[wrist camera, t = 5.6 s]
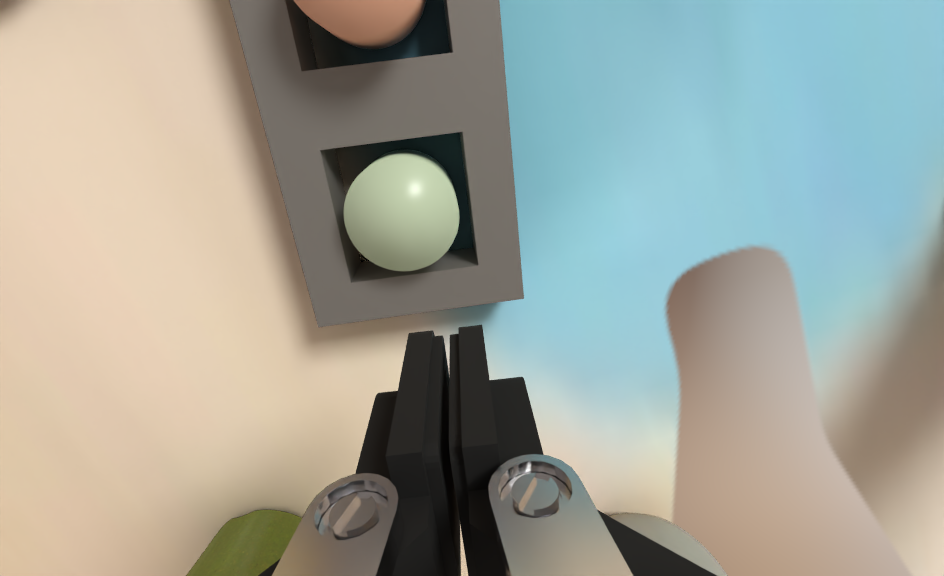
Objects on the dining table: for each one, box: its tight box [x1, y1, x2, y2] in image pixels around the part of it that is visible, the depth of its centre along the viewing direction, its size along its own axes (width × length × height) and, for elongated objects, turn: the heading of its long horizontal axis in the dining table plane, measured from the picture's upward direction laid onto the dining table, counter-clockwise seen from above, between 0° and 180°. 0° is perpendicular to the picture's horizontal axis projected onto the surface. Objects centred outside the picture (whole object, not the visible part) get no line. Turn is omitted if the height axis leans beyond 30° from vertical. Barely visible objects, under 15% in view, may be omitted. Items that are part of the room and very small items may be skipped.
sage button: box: [344, 149, 459, 271], centre depth 21 cm, size 5×5×4 cm
